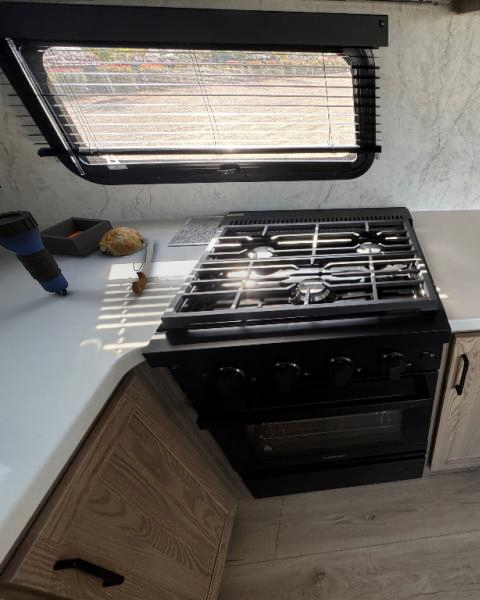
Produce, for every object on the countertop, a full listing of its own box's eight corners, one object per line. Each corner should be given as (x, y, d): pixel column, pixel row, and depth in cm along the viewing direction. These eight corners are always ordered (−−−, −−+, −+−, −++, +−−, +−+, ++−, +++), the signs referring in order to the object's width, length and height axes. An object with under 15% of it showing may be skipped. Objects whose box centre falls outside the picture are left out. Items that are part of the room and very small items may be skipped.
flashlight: (52, 286, 85) (-4, 210, 73) (88, 284, 86) (39, 208, 74) (32, 307, 79) (-34, 227, 67) (71, 303, 80) (13, 224, 68)
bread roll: (144, 264, 100) (147, 239, 97) (97, 259, 94) (99, 233, 91) (143, 249, 107) (146, 225, 104) (99, 244, 100) (101, 218, 97)
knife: (136, 286, 79) (150, 228, 100) (129, 287, 79) (145, 228, 100) (145, 300, 82) (157, 241, 103) (138, 302, 82) (152, 242, 103)
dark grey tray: (38, 253, 97) (26, 235, 94) (79, 232, 107) (69, 215, 104) (86, 258, 96) (74, 240, 92) (122, 236, 106) (113, 220, 102)
